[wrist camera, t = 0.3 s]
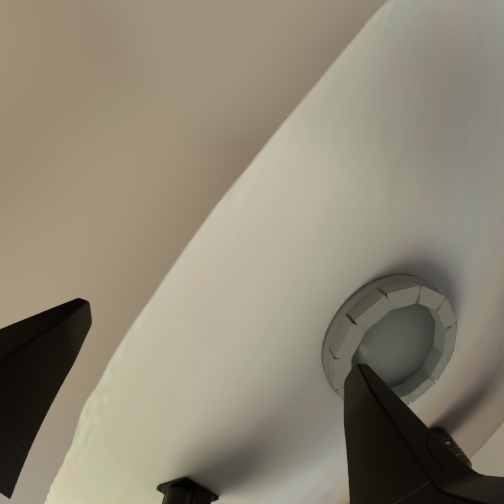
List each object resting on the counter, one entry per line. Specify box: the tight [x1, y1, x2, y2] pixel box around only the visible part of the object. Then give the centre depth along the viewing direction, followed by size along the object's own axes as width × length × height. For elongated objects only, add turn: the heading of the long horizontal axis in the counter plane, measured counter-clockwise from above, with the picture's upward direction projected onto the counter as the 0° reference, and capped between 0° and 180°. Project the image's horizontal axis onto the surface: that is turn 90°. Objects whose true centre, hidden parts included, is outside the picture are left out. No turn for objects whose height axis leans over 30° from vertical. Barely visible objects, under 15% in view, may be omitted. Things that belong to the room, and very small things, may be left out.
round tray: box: [322, 274, 457, 405], centre depth 24 cm, size 14×14×3 cm
